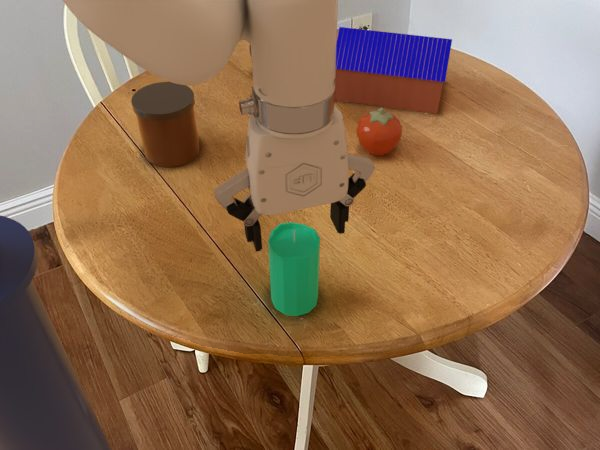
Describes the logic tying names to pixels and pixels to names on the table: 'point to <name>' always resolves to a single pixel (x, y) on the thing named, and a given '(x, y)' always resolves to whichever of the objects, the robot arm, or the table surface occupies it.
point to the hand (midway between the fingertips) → (297, 234)
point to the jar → (167, 123)
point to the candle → (294, 268)
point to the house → (390, 69)
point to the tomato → (379, 132)
